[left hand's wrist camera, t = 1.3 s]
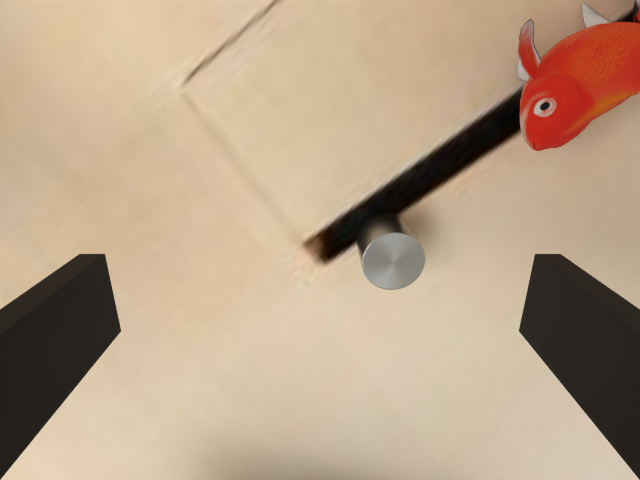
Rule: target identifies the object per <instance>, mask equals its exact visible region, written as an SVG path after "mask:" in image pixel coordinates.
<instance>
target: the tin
mask: <svg viewBox="0 0 640 480" xmlns="http://www.w3.org/2000/svg"><path fill="white" fill-rule="evenodd" d="M357 246H358V251H359V255H360V259H361V264H362V268H363V272H364V274H365V276H366V277H367V279H368V280H369V281H370V282H371V283H372V284H374V285H375V286H377V287H380V288H383V289H388V290H395V289H400V288H403V287H406V286H408V285H410V284H411V283H413V282H414V281H415V280H416V279H417V278H418V277H419V275H420V274H421V272H422V270H423V267H424V263H425V255H424V251H423V248H422V247H421V245H420V243H419V242H418V240H417V238H416V237H415V235H414V234H413V232H412V230H411V229H410V227H409V225H408V224H407V222H406V221H405V220H404V219H403V218H402V217H400V216H398V215H396V214H394V213H389V212H382V213H377V214H374V215H372V216H370V217H369V218H367V219H366V220H365V221H364V222H363V223H362V224H361V226H360V227H359V230H358V232H357Z"/></svg>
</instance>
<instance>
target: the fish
mask: <svg viewBox="0 0 640 480" xmlns="http://www.w3.org/2000/svg"><path fill="white" fill-rule="evenodd" d="M582 10H583V17H584V22H585V25H586V27H587V28H585V29H583V30H581V31H578V32H576V33H574V34H572V35H570V36H568V37H566V38H565V39H563V40H561V41H560V42H558V43H557V44H556V45H555V46H554V47H553V48H552V49H551V50H549V51H548V52H547V53H546V54H545V55H544V56H543V57H542V58H541V59H540V57H539V54H538V52H537V50H536V48H535V46H534V41H533V35H534V23H533V21H532V19H530V20H529V21H527V22H526V23H525V24H524V26H523V27H522V28H521V32H520V36H519V40H520V41H519V48H518V54H519V57H520V58H519V61H518V77H519V78H520V79H522V80H524V81H526V83H525V86H524V89H523V92H522V97H521V99H520V126H521V132H522V136H523V138H524V140H525V141H526V142H527V144H528V145H529V146H530V147H531V148H532V149H534V150H536V151H540V150H544V149H548V148H557V147H561V146H562V145H564V144H566V143H568V142H569V141H570V140H572V139H573V138H575V137H576V136H577V135H578V134H580V133H581V132H582V131H583V130H584V129H585V128H586V127H587V125H588V124H589V123H590V122H591V121H592V120H593V119H595V118H597V117H598V116H600V115H602V114H604V113H606V112H608V111H609V110H611V109H613V108H614V107H616V106H617V105H619V104H621V103H622V102H624V101H625V100H626V99H627V98H629V97H630V96H632V95H635V94H638V93H640V0H635V3H634V10H633V23H631V22H610V21H609V20H607V19H606V18H604V17H603V16H601V15H600V14H598V13H597V12H596V11H594V10H593V9H592V8H591V7H590V6H588V5H587V4H586V3H584V4H582Z"/></svg>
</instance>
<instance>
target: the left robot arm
mask: <svg viewBox="0 0 640 480" xmlns="http://www.w3.org/2000/svg"><path fill="white" fill-rule="evenodd" d="M120 332H121V328H120V324H119V319H118V314H117V309H116V305H115V300H114V295H113V291H112V286H111V281H110V276H109V272H108V267H107V262H106V257H105V254H79V255H78V256H76V257H75V258H73V259H72V260H70V261H69V262H68V263H66V264H65V265H63V266H62V267H60V268H59V269H58V270H56V271H55V272H53V273H52V274H50V275H49V276H48V277H46V278H45V279H43V280H42V281H40V282H39V283H38V284H36V285H35V286H33V287H32V288H30V289H29V290H28V291H26V292H25V293H23V294H22V295H20V296H19V297H18V298H16V299H15V300H13V301H12V302H10V303H9V304H8V305H6V306H5V307H3V308H2V309H0V479H1V478H2V477H3V476H4V474H5V473H6V472H7V471H8V470H9V468H10V467H11V466H12V465H13V463H14V462H15V461H16V460H17V458H18V457H19V456H20V455H21V454H22V452H23V451H24V450H25V449H26V447H27V446H28V445H29V444H30V442H31V441H32V440H33V439H34V438H35V436H36V435H37V434H38V433H39V431H40V430H41V429H42V428H43V426H44V425H45V424H46V423H47V422H48V420H49V419H50V418H51V417H52V415H53V414H54V413H55V412H56V410H57V409H58V408H59V407H60V406H61V404H62V403H63V402H64V401H65V399H66V398H67V397H68V396H69V394H70V393H71V392H72V391H73V390H74V388H75V387H76V386H77V385H78V383H79V382H80V381H81V380H82V378H83V377H84V376H85V375H86V374H87V372H88V371H89V370H90V369H91V367H92V366H93V365H94V364H95V362H96V361H97V360H98V359H99V358H100V356H101V355H102V354H103V353H104V351H105V350H106V349H107V348H108V346H109V345H110V344H111V343H112V342H113V340H114V339H115V338H116V337H117V335H118V334H119V333H120ZM519 332H520V333H521V334H522V335H523V337H524V338H525V339H526V340H527V342H528V343H529V344H530V345H531V346H532V348H533V349H534V350H535V351H536V353H537V354H538V355H539V356H540V358H541V359H542V360H543V361H544V362H545V364H546V365H547V366H548V367H549V369H550V370H551V371H552V372H553V374H554V375H555V376H556V377H557V378H558V380H559V381H560V382H561V383H562V385H563V386H564V387H565V388H566V390H567V391H568V392H569V393H570V394H571V396H572V397H573V398H574V399H575V401H576V402H577V403H578V404H579V406H580V407H581V408H582V409H583V410H584V412H585V413H586V414H587V415H588V417H589V418H590V419H591V420H592V422H593V423H594V424H595V425H596V426H597V428H598V429H599V430H600V431H601V433H602V434H603V435H604V436H605V438H606V439H607V440H608V441H609V442H610V444H611V445H612V446H613V447H614V449H615V450H616V451H617V452H618V454H619V455H620V456H621V457H622V458H623V460H624V461H625V462H626V463H627V465H628V466H629V467H630V468H631V470H632V471H633V472H634V473H635V474H636V476H637V477H638V478H639V479H640V309H638V308H637V307H635V306H634V305H632V304H631V303H630V302H628V301H627V300H625V299H624V298H622V297H621V296H620V295H618V294H617V293H615V292H614V291H612V290H611V289H610V288H608V287H607V286H605V285H604V284H602V283H601V282H600V281H598V280H597V279H595V278H594V277H592V276H591V275H590V274H588V273H587V272H585V271H584V270H582V269H581V268H580V267H578V266H577V265H575V264H574V263H572V262H571V261H570V260H568V259H567V258H565V257H564V256H562V255H561V254H535V257H534V262H533V267H532V272H531V276H530V281H529V286H528V291H527V295H526V300H525V305H524V309H523V314H522V319H521V324H520V328H519Z"/></svg>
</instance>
